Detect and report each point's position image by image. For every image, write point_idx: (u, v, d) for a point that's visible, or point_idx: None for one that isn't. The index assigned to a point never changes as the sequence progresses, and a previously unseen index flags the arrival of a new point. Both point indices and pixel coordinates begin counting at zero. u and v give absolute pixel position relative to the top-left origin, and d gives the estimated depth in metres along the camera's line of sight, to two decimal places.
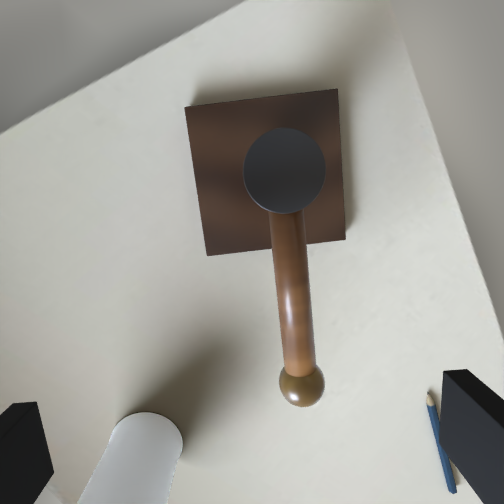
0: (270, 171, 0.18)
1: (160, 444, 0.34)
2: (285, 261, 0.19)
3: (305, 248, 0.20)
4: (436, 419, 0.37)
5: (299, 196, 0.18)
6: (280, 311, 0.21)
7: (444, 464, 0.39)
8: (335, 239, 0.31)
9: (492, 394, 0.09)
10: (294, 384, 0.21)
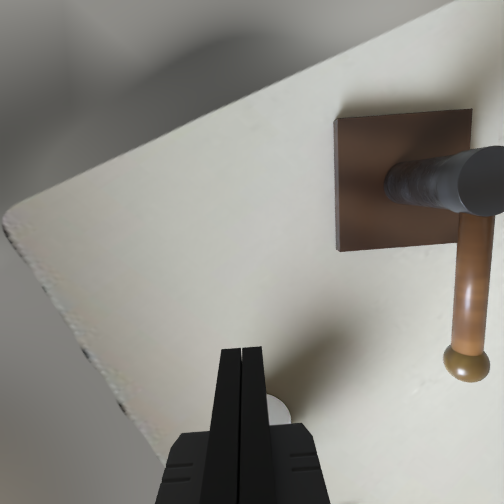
0: (480, 181, 0.22)
1: (283, 421, 0.37)
2: (477, 257, 0.23)
3: (492, 246, 0.23)
4: None
5: (500, 202, 0.22)
6: (461, 299, 0.24)
7: None
8: (454, 241, 0.35)
9: None
10: (468, 362, 0.25)
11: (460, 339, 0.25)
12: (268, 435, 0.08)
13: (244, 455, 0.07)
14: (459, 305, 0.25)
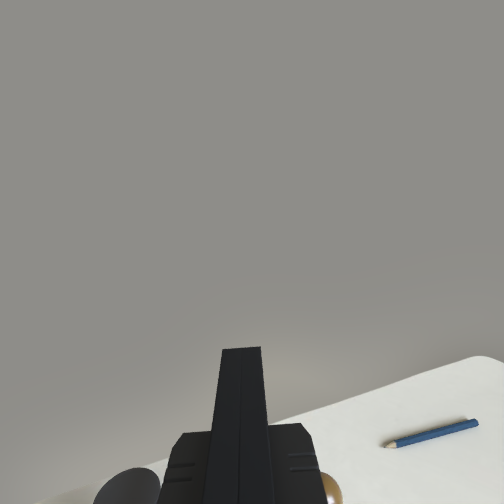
0: None
1: None
2: None
3: None
4: (407, 438, 0.43)
5: (149, 485, 0.24)
6: None
7: (451, 429, 0.44)
8: None
9: None
10: None
11: None
12: (266, 435, 0.08)
13: (242, 455, 0.07)
14: None
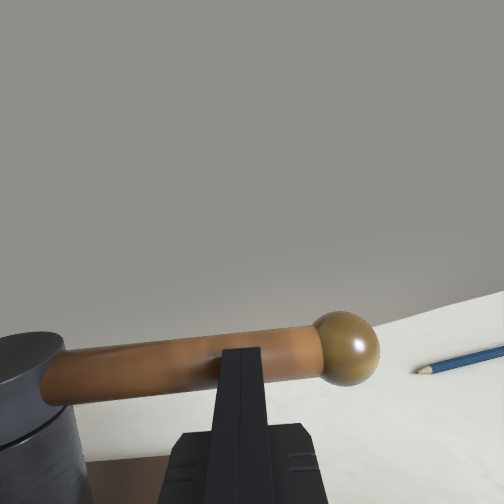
0: None
1: None
2: (126, 354, 0.13)
3: None
4: (445, 361, 0.32)
5: (44, 345, 0.14)
6: (212, 365, 0.13)
7: (499, 351, 0.34)
8: None
9: None
10: (329, 331, 0.13)
11: (294, 353, 0.13)
12: (266, 435, 0.08)
13: (242, 455, 0.07)
14: None
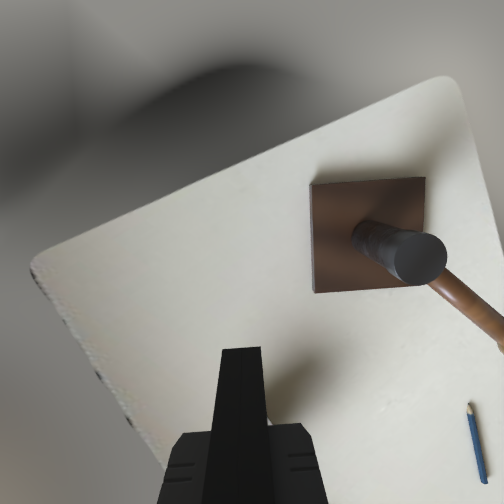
0: (413, 266, 0.28)
1: None
2: (457, 297, 0.29)
3: (460, 281, 0.29)
4: (474, 425, 0.47)
5: (438, 263, 0.28)
6: (473, 321, 0.30)
7: (479, 460, 0.49)
8: (412, 285, 0.41)
9: None
10: None
11: (498, 340, 0.31)
12: (266, 435, 0.08)
13: (242, 455, 0.07)
14: (476, 323, 0.30)
